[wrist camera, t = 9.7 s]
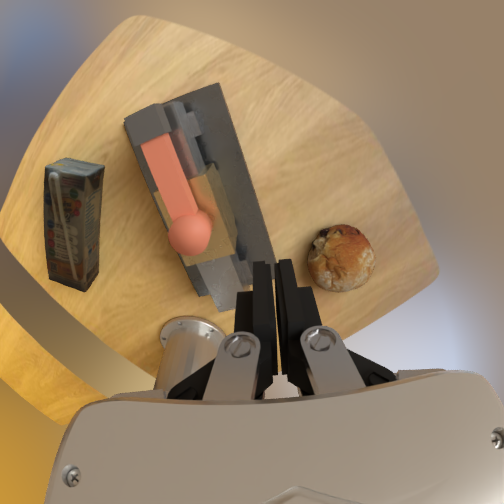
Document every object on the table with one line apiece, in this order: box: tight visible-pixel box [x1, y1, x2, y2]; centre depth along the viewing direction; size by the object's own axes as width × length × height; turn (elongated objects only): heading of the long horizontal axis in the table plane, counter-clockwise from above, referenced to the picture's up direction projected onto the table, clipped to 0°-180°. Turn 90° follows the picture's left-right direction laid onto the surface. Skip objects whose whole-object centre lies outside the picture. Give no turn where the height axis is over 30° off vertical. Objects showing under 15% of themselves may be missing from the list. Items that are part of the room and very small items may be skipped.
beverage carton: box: [44, 158, 105, 292], centre depth 35 cm, size 8×19×7 cm, turn 163°
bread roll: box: [307, 225, 376, 292], centre depth 39 cm, size 10×10×8 cm
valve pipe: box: [123, 83, 277, 312], centre depth 33 cm, size 28×13×8 cm, turn 17°
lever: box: [124, 104, 212, 256], centre depth 25 cm, size 15×4×3 cm, turn 18°
